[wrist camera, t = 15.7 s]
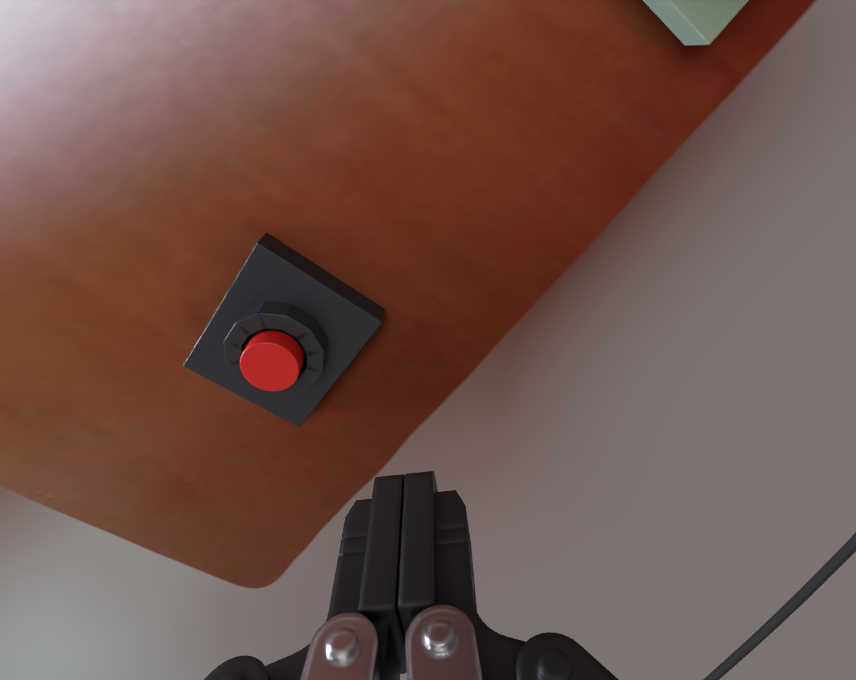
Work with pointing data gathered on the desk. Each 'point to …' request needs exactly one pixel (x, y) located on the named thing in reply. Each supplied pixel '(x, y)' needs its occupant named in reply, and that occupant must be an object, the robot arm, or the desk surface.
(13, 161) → the desk surface
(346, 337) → the button base
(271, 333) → the button
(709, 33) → the dial panel
